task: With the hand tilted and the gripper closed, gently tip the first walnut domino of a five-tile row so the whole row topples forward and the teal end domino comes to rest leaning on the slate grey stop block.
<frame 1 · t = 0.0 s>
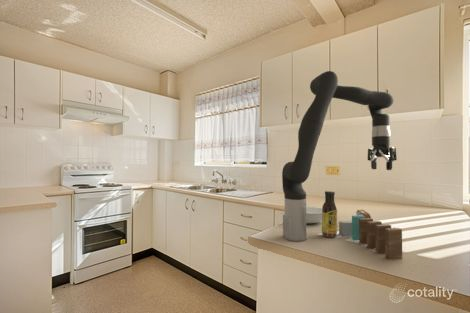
hand: (381, 169, 109), 29 cm above the counter, tool pointing down, fingers open, 8 cm apart
domino 4: (366, 243, 92), on the counter
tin: (363, 228, 113), on the counter
domino 5: (358, 239, 97), on the counter
domino 2: (383, 252, 83), on the counter
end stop: (350, 235, 103), on the counter
domino 1: (393, 257, 79), on the counter
sauce bottle: (329, 236, 102), on the counter
domino 3: (374, 247, 88), on the counter
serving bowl: (306, 221, 126), on the counter
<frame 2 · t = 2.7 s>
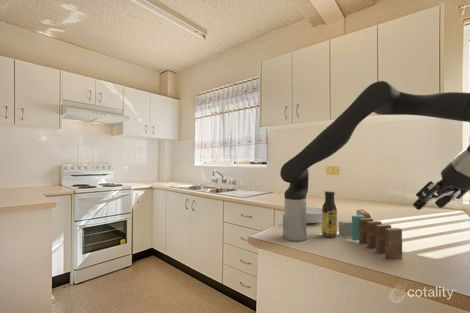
hand: (427, 206, 70), 20 cm above the counter, tool tilted 40°, fingers open, 8 cm apart
nothing on the counter moved.
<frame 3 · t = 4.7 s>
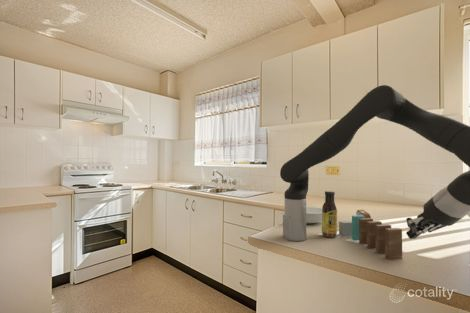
hand: (409, 235, 72), 10 cm above the counter, tool tilted 45°, fingers closed
nothing on the counter moved.
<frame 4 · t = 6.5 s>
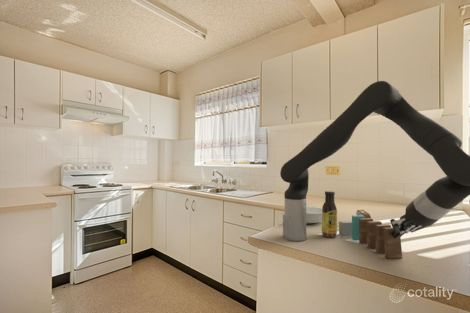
hand: (394, 235, 78), 8 cm above the counter, tool tilted 45°, fingers closed
domino 1: (393, 257, 79), on the counter, tilted 5°, touching gripper
everything else where it was.
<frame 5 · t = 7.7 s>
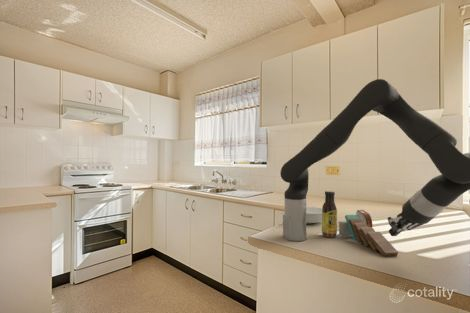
hand: (391, 233, 80), 8 cm above the counter, tool tilted 45°, fingers closed
domino 4: (365, 241, 93), point 1 cm above the counter, tilted 43°, touching domino 3, domino 5
domino 5: (359, 238, 97), point 1 cm above the counter, tilted 35°, touching domino 4, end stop
domino 2: (381, 249, 84), point 1 cm above the counter, tilted 59°, touching domino 1, domino 3
domino 1: (391, 254, 80), point 1 cm above the counter, tilted 63°, touching domino 2
domino 3: (373, 245, 88), point 1 cm above the counter, tilted 53°, touching domino 2, domino 4
everything else where it was.
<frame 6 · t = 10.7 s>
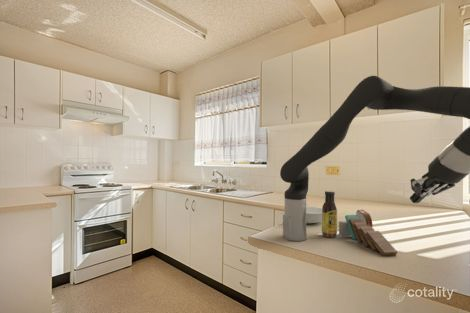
hand: (413, 200, 71), 21 cm above the counter, tool tilted 45°, fingers closed
domino 4: (365, 241, 93), point 1 cm above the counter, tilted 42°, touching domino 3
domino 5: (359, 238, 97), on the counter, tilted 32°, touching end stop
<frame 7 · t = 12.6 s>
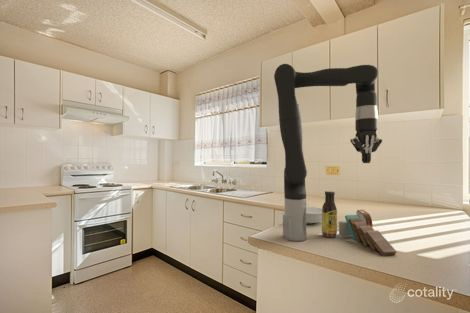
hand: (366, 163, 88), 33 cm above the counter, tool pointing down, fingers closed
domino 4: (364, 241, 93), point 1 cm above the counter, tilted 41°, touching domino 3, domino 5
domino 5: (359, 238, 97), point 1 cm above the counter, tilted 34°, touching domino 4, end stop
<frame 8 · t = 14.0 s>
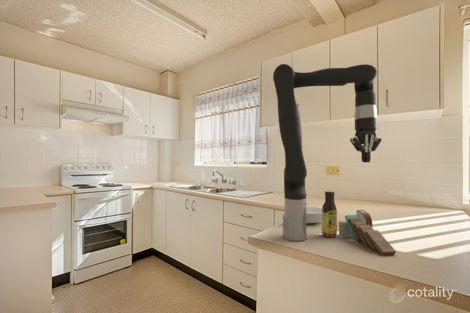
hand: (366, 162, 89), 33 cm above the counter, tool pointing down, fingers closed
nothing on the counter moved.
at the end: domino 5 tilted 35°; domino 5 touching domino 4, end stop; domino 1 tilted 61° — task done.
